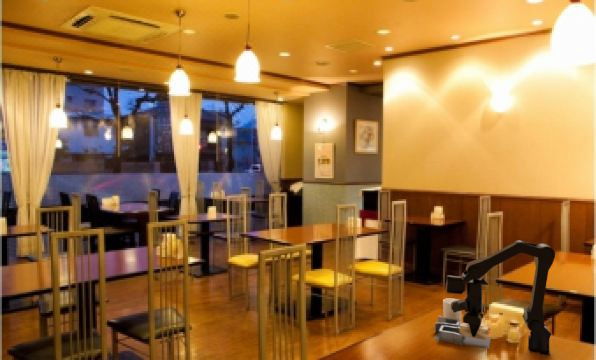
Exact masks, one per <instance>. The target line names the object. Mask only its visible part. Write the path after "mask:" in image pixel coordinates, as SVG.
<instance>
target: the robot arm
mask: <svg viewBox="0 0 596 360" xmlns="http://www.w3.org/2000/svg"><path fill="white" fill-rule="evenodd" d="M521 253H522V254H525V255H529V256H531V257H533V258H534V264H535V270H534V276H533V282H532V283H533V284H532V289H531V290H532V291H531V295H530V296H531V297H530V303H529V305H528V306H527V307H526V306H523V314H522V315H521V316H522V318H523V321H524V323H525V325H526V327H527V328H528V329H529V331H530V333H529V335H528V340H527V343H528V345H527V347H528V349H529V352H532V353H538V354H540V355H548V356H549V355H551V352H550V338H551V335H552V332H551V331H550V330H549V328H548V326H547V325H546V324H545V316H544V309H543V308H544V303H545V295H546V289H547V282H548V276H549V271H550V269H551V268H552V266H553V264H554V260H555V258H556V252H555V250H554V249H553V248H552V247H551V246H550V245H548V244H546V243H539V244H538V243H537V244H536V243H533V242H527V241H523V240H521V239H520V240H519V239H518V240H515V241H514V242H513V243H511V244H509V245H507V246H505V247H504V248H501V249H499V250H498V251H495V252H494V253H492V254H490V255H488V256H486V257H482V258H477V259H474V260H472V261H469V262H467V264H466V267H465V270H464V271H463V272H462V273H461V275H460V276H456V275H449V274H447V275H446V282H445V283H446V294H453V295H456V294H457V295H462V294H464V293H466V296H465V298H462V299H458V300H457V301H453V302H452V303H451V309H452V310H453V312H454V313H455V312H457V311H464V314H463V315H462V323H466V324H469V326H470V330H471V334H472V337H475V336H476V334H477V331H478V329H479V327H480V326H482V322H483V318H484V316H485V314H484V313H485V310H486V309H485V308H486V307H485V304H484V303H483V300H484V296H483V285H484V286H488V285H489V283H488V281H487V280H486V279H485V278H484V277H483V276H485V275H486V274H487V273H488V272H489V271H491V269H493V267H494V268H495V267H496V266H498V265H500V264H502V263H504V262H506V261H507V260H510V259H511V258H514V257H515V256H517V255H519V254H521ZM465 290H466V291H465Z"/></svg>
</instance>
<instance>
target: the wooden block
mask: <svg viewBox="0 0 596 360" xmlns="http://www.w3.org/2000/svg"><path fill="white" fill-rule="evenodd" d="M488 332H489V326H485V325H480V327H479V329H478V331H477V334H476V336H475V337H472V334H471V330H470V326H469V324H468V323H463V322H461V324H460V334H461V335H463V336H464V337H470V338H477V339H483V340H488Z"/></svg>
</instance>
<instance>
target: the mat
mask: <svg viewBox="0 0 596 360" xmlns="http://www.w3.org/2000/svg"><path fill="white" fill-rule="evenodd" d="M491 338H492V336H491V337H488V340H483V339H477V338H470V337H465V338H463V345H462V346H464V345H465V346H469V347H470V346H471V347H477V348H483V349H490V344H491ZM433 340H434V341H439V333H435V336H434V338H433Z"/></svg>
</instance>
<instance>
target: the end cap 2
mask: <svg viewBox="0 0 596 360" xmlns="http://www.w3.org/2000/svg"><path fill="white" fill-rule="evenodd" d="M463 338H465V337H464V336H463V335H461V334H460V327H453V326H446V325H441V327H440V329H439V340H438V342H445V343H449V344H454V345H457V346H461V347H463V346H464V345H463Z"/></svg>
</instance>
